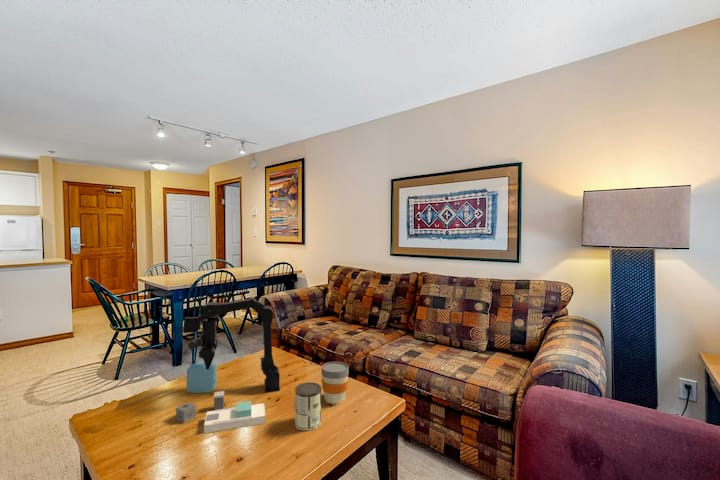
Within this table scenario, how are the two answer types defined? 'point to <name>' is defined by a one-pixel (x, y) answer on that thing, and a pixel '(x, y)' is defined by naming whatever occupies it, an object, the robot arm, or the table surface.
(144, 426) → the table surface
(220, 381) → the table surface
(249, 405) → the block
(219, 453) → the table surface
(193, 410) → the dice cube
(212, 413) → the socket strip
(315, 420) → the coffee can
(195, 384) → the data package
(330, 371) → the reusable coffee cup
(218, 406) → the white rectangular block
